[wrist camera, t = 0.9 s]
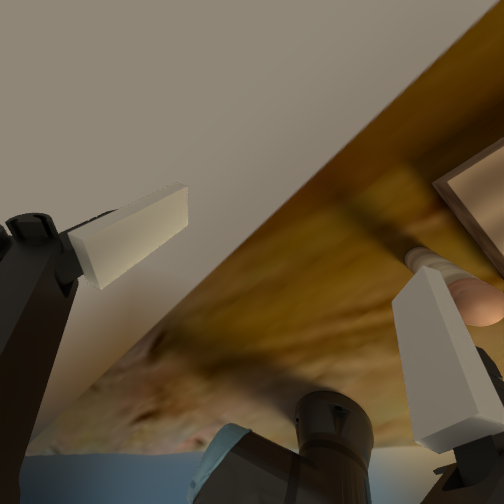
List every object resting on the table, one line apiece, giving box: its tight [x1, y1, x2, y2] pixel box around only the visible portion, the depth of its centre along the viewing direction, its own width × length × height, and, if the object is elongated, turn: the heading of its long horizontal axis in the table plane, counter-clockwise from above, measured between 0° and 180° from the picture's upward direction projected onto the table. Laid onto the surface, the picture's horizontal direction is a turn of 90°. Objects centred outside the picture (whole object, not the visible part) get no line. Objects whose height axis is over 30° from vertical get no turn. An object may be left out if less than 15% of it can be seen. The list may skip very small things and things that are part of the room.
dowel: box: [404, 247, 504, 326], centre depth 28 cm, size 4×4×16 cm
